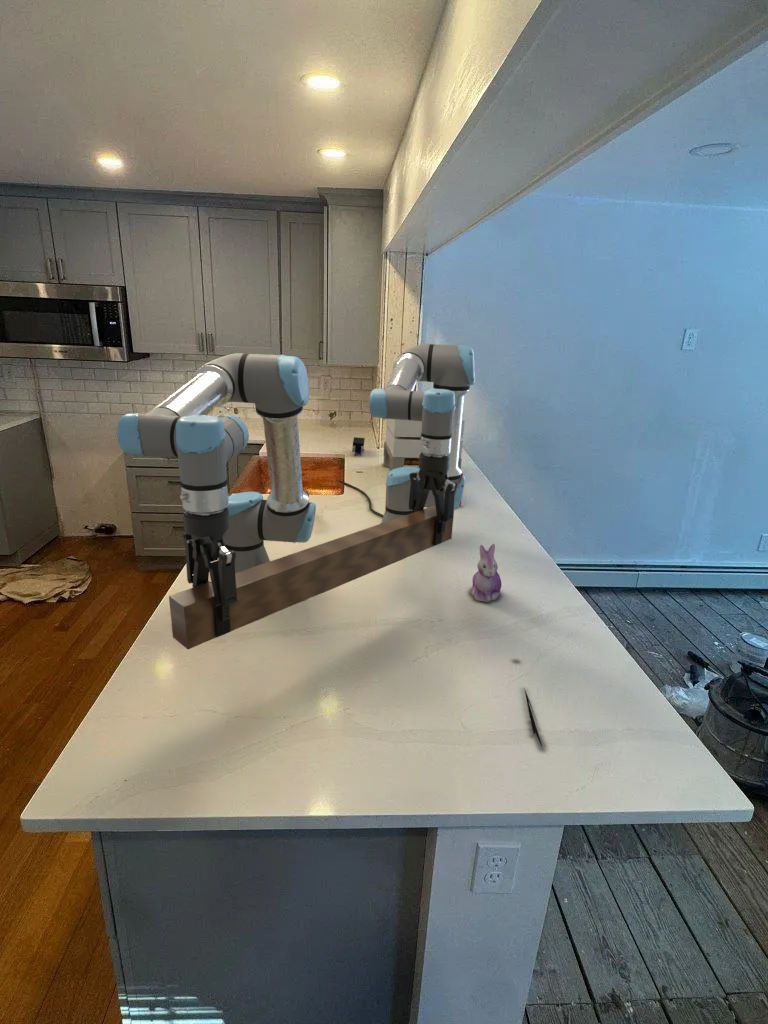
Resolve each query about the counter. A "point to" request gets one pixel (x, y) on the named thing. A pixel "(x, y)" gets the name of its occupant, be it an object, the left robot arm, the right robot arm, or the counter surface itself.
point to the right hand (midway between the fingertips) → (428, 540)
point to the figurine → (486, 576)
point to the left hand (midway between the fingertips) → (214, 626)
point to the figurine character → (358, 445)
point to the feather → (532, 718)
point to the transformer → (406, 443)
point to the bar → (303, 575)
